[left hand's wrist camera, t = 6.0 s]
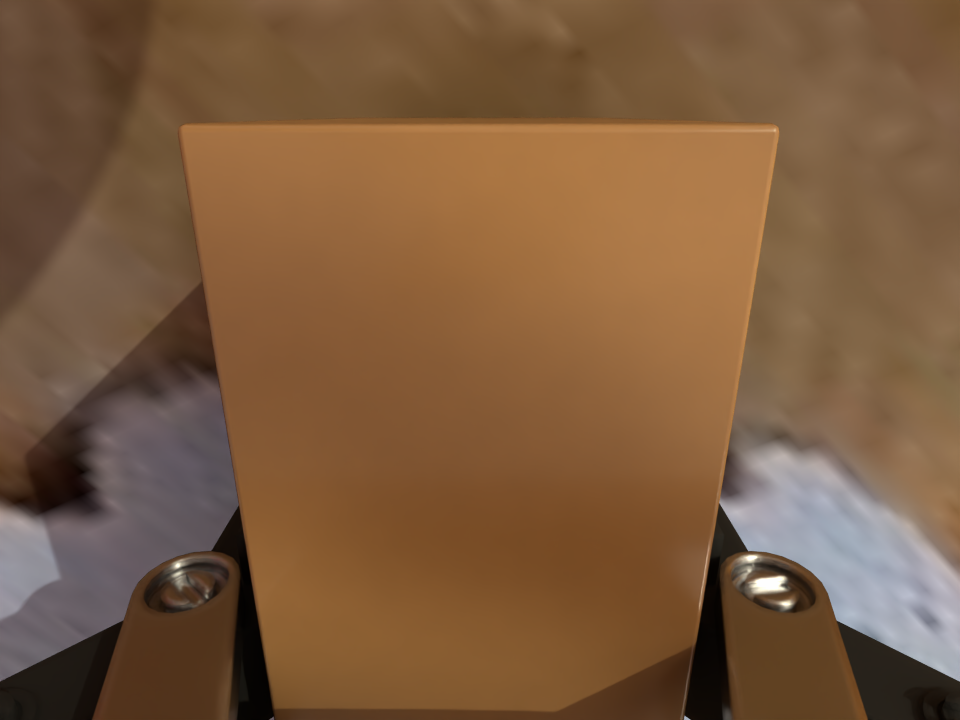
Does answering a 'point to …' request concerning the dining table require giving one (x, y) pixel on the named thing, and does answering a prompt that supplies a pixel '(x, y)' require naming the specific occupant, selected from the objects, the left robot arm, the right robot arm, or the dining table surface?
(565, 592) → the post
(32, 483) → the dining table surface
